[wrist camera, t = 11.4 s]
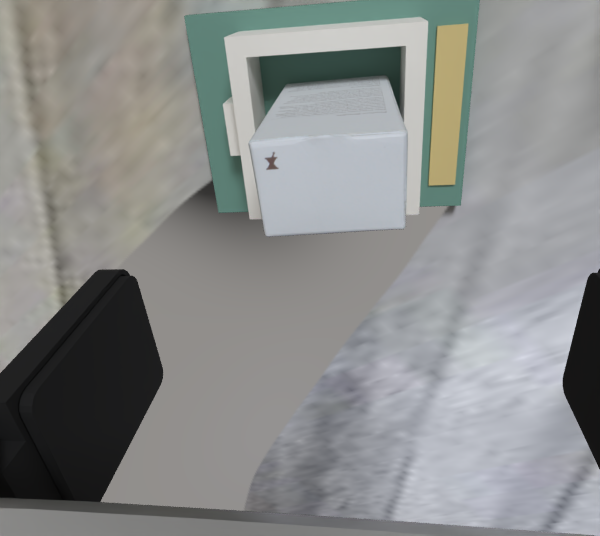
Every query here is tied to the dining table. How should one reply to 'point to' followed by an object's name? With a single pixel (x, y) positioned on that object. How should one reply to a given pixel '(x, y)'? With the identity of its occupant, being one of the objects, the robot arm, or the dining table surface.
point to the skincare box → (332, 159)
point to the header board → (338, 65)
